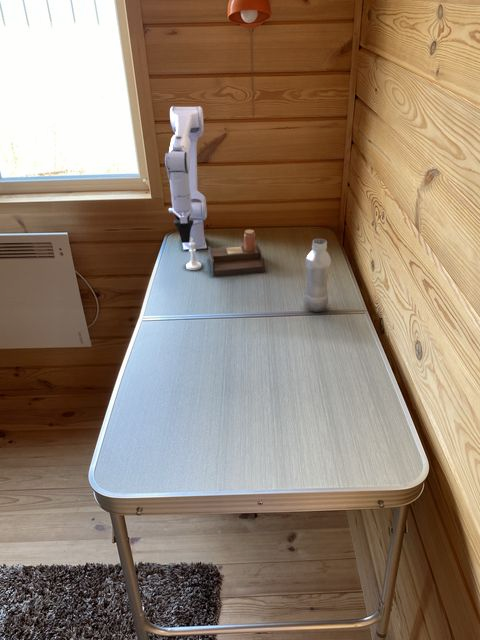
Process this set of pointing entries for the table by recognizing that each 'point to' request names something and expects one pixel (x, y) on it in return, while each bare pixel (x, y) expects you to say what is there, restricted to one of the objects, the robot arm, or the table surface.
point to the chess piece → (193, 258)
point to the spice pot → (249, 240)
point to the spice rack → (235, 260)
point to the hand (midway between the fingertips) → (184, 237)
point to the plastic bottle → (317, 276)
